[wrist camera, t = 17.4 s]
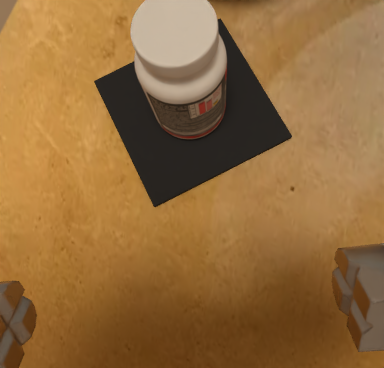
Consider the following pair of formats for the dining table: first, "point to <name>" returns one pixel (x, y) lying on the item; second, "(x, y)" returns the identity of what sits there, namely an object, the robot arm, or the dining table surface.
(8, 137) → the dining table surface
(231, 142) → the mat
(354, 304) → the robot arm
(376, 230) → the dining table surface
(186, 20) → the pill bottle
